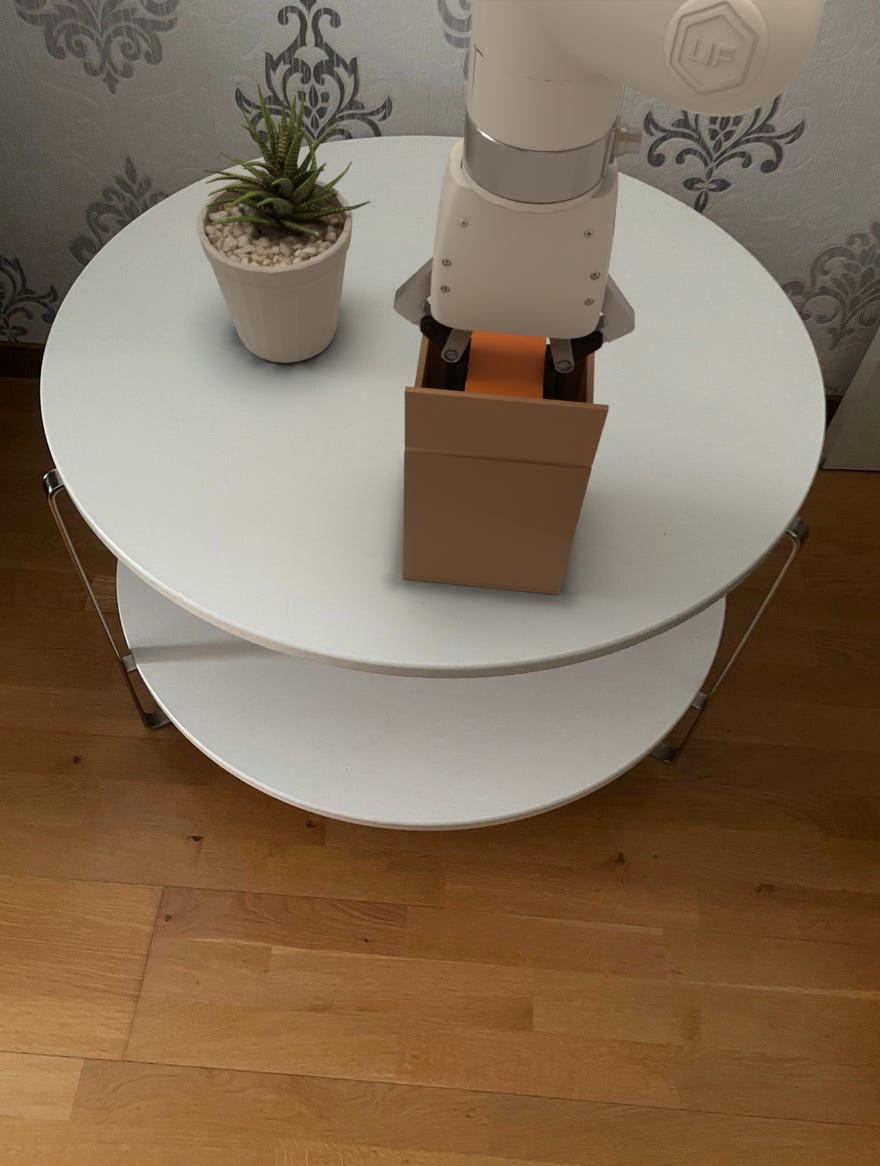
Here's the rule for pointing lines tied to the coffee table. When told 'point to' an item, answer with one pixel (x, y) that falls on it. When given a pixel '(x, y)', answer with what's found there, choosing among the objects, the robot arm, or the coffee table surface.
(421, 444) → the carton flap
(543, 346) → the block
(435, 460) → the carton
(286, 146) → the potted plant
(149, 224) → the coffee table surface
